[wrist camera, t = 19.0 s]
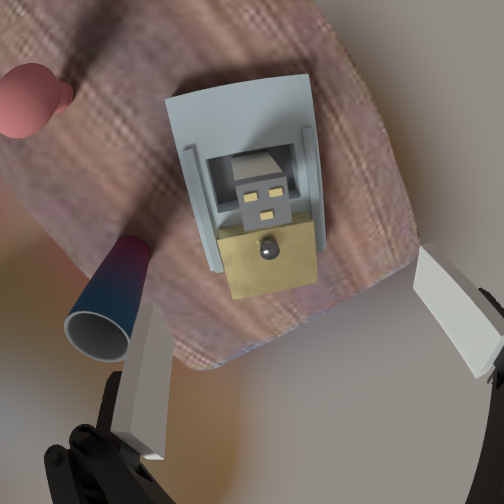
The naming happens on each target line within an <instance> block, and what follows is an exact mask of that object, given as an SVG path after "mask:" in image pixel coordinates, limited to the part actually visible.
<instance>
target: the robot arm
mask: <svg viewBox="0 0 504 504" xmlns="http://www.w3.org/2000/svg"><path fill="white" fill-rule="evenodd" d="M413 289H414V290H415V292H416V293H417V294H418V295H419V296H420V298H421V299H422V300H423V302H424V303H425V305H426V306H427V307H428V308H429V310H430V311H431V312H432V314H433V315H434V317H435V318H436V319H437V321H438V322H439V324H440V325H441V326H442V328H443V329H444V331H445V332H446V333H447V335H448V336H449V338H450V339H451V341H452V342H453V344H454V345H455V347H456V348H457V349H458V351H459V353H460V354H461V355H462V357H463V359H464V360H465V362H466V363H467V365H468V366H469V368H470V370H471V371H472V373H473V374H474V376H475V377H476V379H477V378H479V377H480V376H482V375H483V374H485V373H487V372H488V371H489V369H490V368H491V366H492V365H493V364H494V365H495V367H496V368H495V370H494V371H493V373H492V374H491V376H490V377H489V379H488V381H487V383H489V382H490V381H491V379H492V378H493V382H492V393H491V402H490V409H489V416H488V421H487V427H486V432H485V437H484V441H483V446H482V450H481V455H480V458H479V463H478V466H477V470H476V473H475V476H474V479H473V483H472V486H471V489H470V492H469V494H468V497H467V500H466V503H465V504H504V308H502V307H501V305H500V304H499V303H498V302H496V299H495V298H494V297H493V296H492V295H491V294H490V293H489V292H487V291H486V290H484V289H482V288H479V289H477V288H476V287H475V285H474V284H473V283H472V282H471V281H470V280H469V279H468V278H467V277H466V276H465V275H464V274H463V273H462V272H461V271H460V270H459V269H458V268H457V267H456V266H455V265H454V264H453V263H452V262H451V261H450V260H449V259H448V258H447V257H446V256H445V255H444V254H443V253H442V252H441V251H440V250H439V249H437V247H435V246H434V245H433V244H432V243H429V244H425V245H421V246H420V251H419V258H418V264H417V270H416V275H415V280H414V285H413ZM173 348H174V339H173V337H172V335H171V333H170V331H169V329H168V327H167V325H166V323H165V321H164V319H163V317H162V315H161V313H160V311H159V309H158V307H157V304H156V302H155V301H152V302H146V303H140V307H139V310H138V313H137V317H136V320H135V324H134V328H133V331H132V335H131V339H130V343H129V347H128V351H127V355H126V359H125V363H124V367H123V371H115V372H112V374H111V375H110V377H109V378H108V380H107V382H106V386H105V390H104V394H103V398H102V403H101V407H100V411H99V416H98V420H97V425H96V428H94V427H93V426H91V425H89V424H81V425H79V426H77V427H76V428H75V429H74V430H73V431H72V433H71V435H70V438H69V444H70V448H71V449H65V448H64V447H63V446H61V445H58V444H57V445H52V446H51V447H49V448H48V450H47V451H46V453H45V455H44V464H45V469H46V475H47V480H48V484H49V489H50V493H51V498H52V501H53V504H176V503H175V502H174V501H173V500H172V499H171V498H170V496H169V495H168V494H167V493H166V492H165V491H164V490H163V488H161V486H160V485H159V484H158V483H157V481H156V480H155V479H154V478H153V477H152V475H151V474H150V473H149V472H148V470H147V469H146V468H145V466H144V465H143V464H142V463H141V462H140V454H141V455H142V456H143V457H145V458H146V459H164V454H165V436H166V421H167V408H168V396H169V386H170V375H171V366H172V357H173Z"/></svg>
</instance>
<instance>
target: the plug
mask: <svg viewBox="0 0 504 504" xmlns="http://www.w3.org/2000/svg"><path fill="white" fill-rule="evenodd" d="M231 162H232V168H233V175H234V182H235V188H236V193H237V198H238V202H239V207H240V212H241V217H242V221H243V226H244V231H250V230H255V229H260V228H265V227H270V226H275V225H281V224H286V223H291V222H292V217H291V209H290V201H289V193H288V186H287V179H286V176H285V174H284V173H283V172H282V170H281V169H280V168H279V166H278V165H277V164H276V162H275V161H274V160H273V158H272V157H271V156H270V154H269V153H268V152H261V153H256V154H250V155H245V156H240V157H235V158H231Z"/></svg>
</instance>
